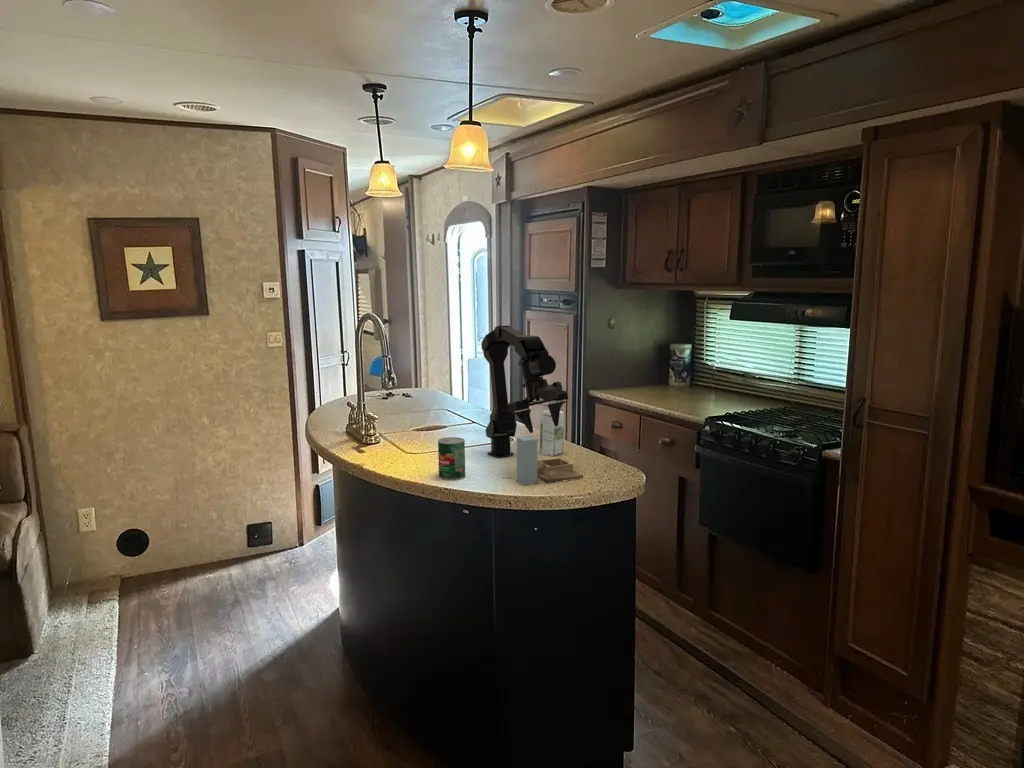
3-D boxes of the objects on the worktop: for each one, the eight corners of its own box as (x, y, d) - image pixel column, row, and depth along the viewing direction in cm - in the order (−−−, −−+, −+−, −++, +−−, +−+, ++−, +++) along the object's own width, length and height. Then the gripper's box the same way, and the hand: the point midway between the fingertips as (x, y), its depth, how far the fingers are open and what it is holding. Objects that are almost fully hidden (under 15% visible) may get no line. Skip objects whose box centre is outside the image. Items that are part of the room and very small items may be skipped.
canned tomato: (468, 473, 206) (468, 438, 204) (460, 481, 198) (459, 443, 196) (444, 472, 208) (443, 436, 206) (434, 479, 200) (433, 442, 198)
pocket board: (528, 472, 206) (528, 460, 206) (563, 468, 211) (563, 455, 211) (546, 483, 195) (546, 469, 195) (582, 478, 200) (583, 465, 200)
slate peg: (516, 481, 197) (516, 437, 196) (530, 479, 199) (530, 436, 197) (523, 485, 194) (523, 440, 192) (537, 483, 195) (537, 439, 193)
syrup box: (549, 450, 233) (550, 408, 231) (564, 453, 230) (564, 411, 227) (539, 454, 229) (539, 411, 227) (554, 456, 225) (554, 413, 223)
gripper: (522, 380, 191) (534, 434, 191) (574, 369, 202) (585, 421, 201) (501, 384, 201) (512, 436, 201) (552, 374, 211) (562, 423, 211)
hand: (544, 429), depth 203 cm, fingers open, 9 cm apart
